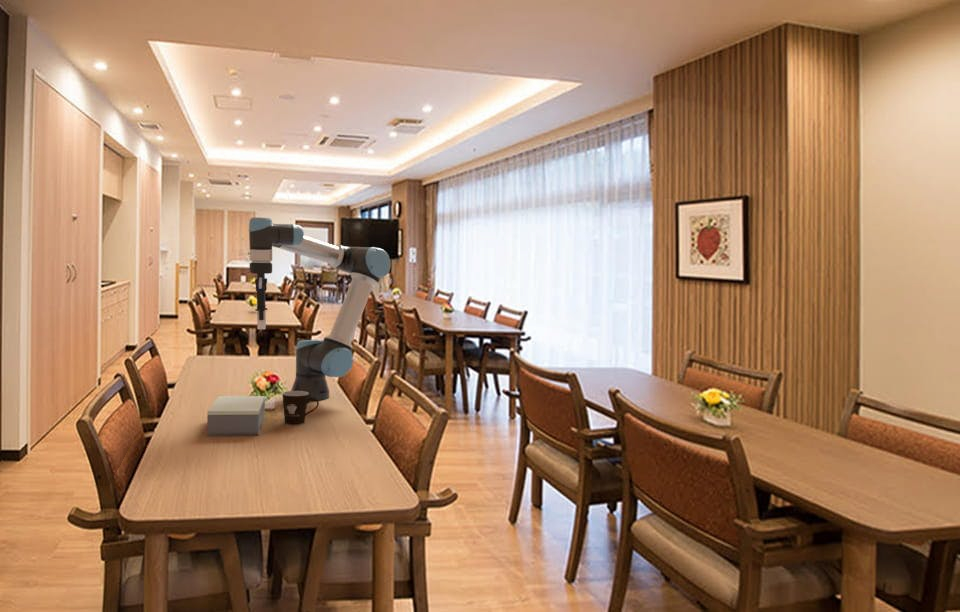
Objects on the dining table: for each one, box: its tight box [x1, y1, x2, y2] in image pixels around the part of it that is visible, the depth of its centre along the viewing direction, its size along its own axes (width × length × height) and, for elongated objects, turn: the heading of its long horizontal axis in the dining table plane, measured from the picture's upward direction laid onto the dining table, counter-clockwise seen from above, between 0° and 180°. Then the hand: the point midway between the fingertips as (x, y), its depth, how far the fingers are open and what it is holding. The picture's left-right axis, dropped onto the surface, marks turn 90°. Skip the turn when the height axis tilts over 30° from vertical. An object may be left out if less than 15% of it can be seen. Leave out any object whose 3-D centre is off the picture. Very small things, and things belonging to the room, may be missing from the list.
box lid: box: [206, 395, 266, 415], centre depth 216 cm, size 15×22×1 cm
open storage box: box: [206, 400, 266, 437], centre depth 217 cm, size 15×22×6 cm
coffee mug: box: [281, 390, 320, 426], centre depth 225 cm, size 12×9×10 cm
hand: (261, 328), depth 234 cm, fingers closed
